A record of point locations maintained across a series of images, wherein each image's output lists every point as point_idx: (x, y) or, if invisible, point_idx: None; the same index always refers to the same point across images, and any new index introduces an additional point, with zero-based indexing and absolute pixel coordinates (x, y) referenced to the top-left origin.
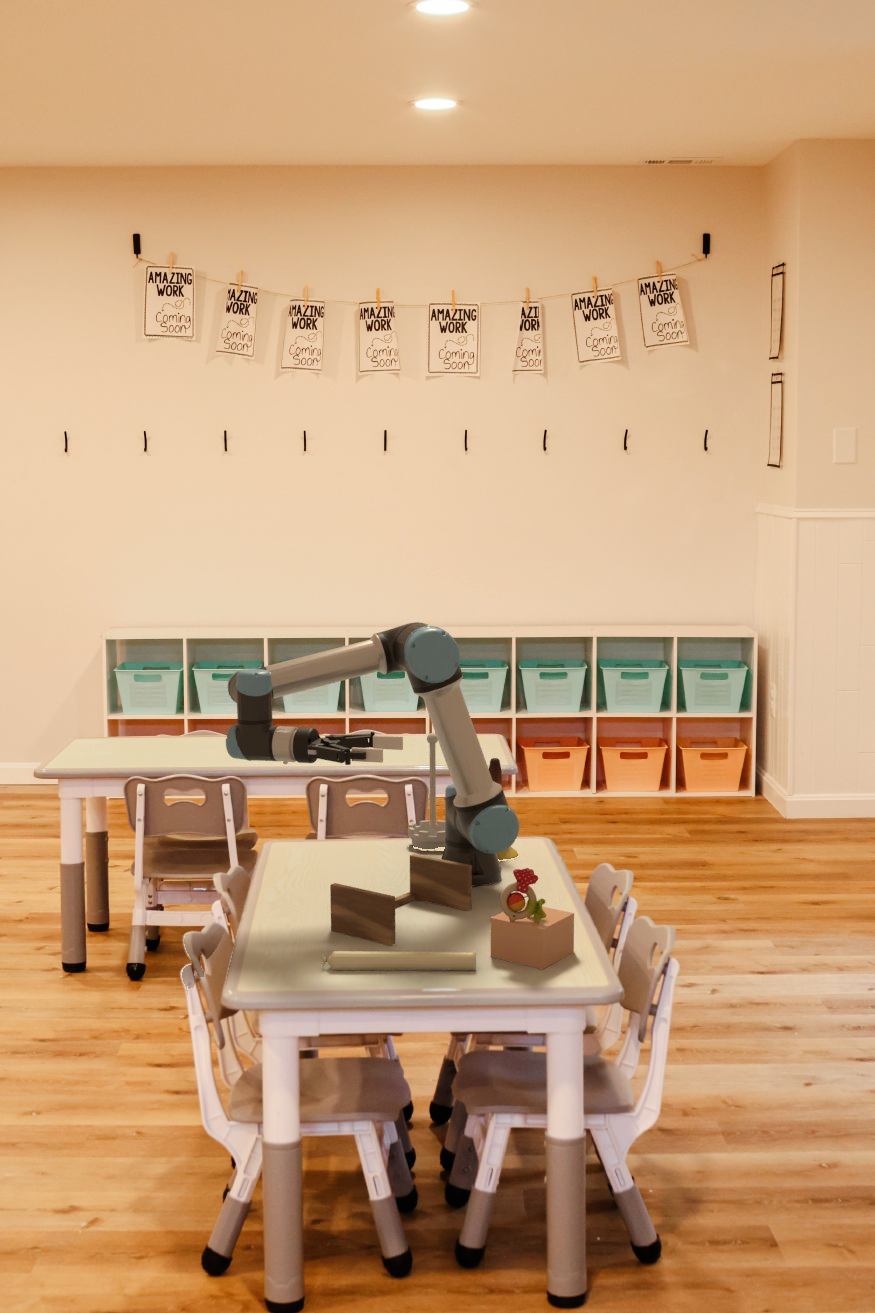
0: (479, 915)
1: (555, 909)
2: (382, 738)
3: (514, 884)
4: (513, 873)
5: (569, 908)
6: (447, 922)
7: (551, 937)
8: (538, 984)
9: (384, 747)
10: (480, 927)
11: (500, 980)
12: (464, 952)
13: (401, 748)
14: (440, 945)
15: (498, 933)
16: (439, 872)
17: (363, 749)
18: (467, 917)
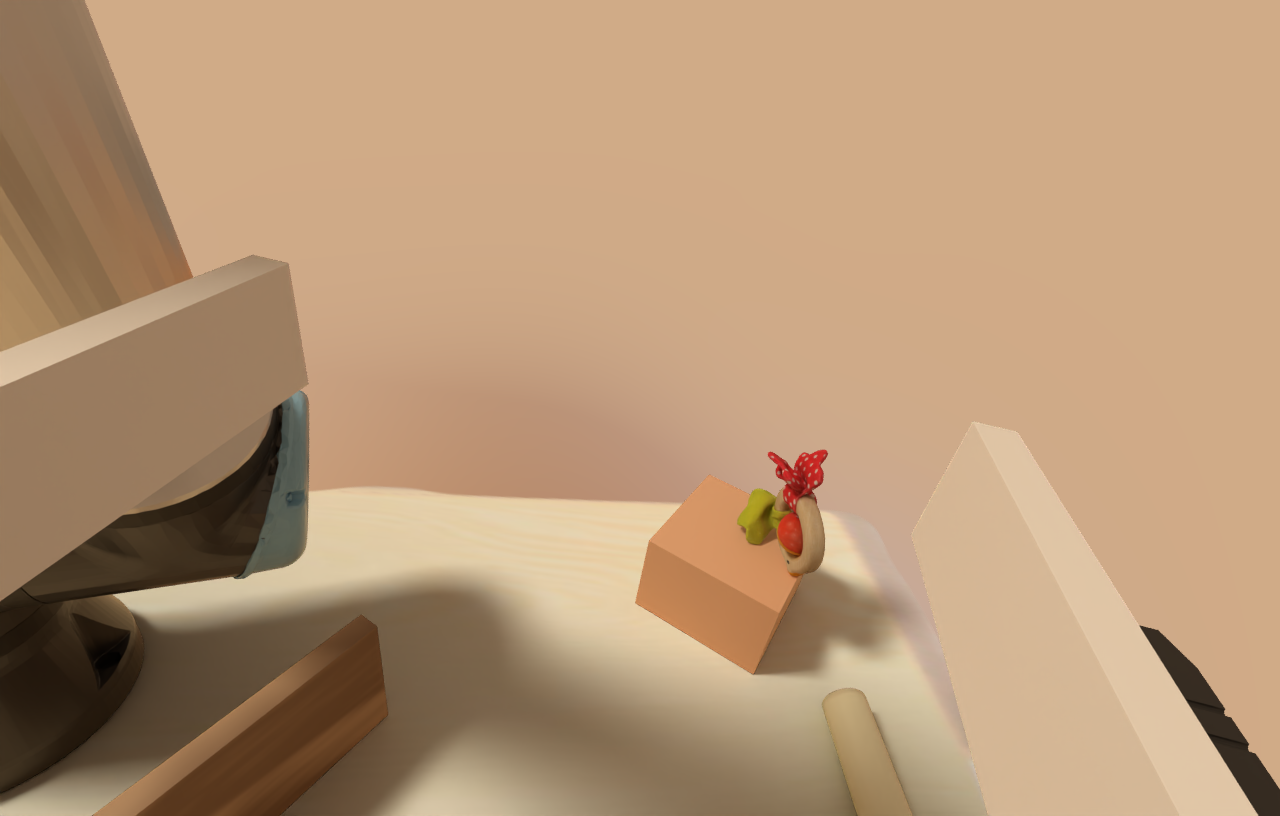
0: (435, 684)
1: (691, 495)
2: (70, 387)
3: (816, 504)
4: (819, 484)
5: (429, 503)
6: (484, 780)
7: None
8: (873, 601)
9: (136, 480)
10: (539, 686)
11: (882, 664)
12: (861, 714)
13: (304, 372)
14: (692, 803)
15: (777, 620)
16: (264, 746)
17: (1122, 620)
18: (446, 718)
